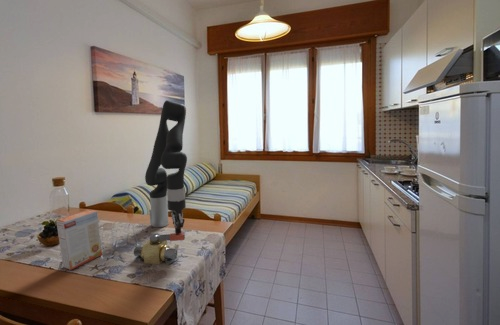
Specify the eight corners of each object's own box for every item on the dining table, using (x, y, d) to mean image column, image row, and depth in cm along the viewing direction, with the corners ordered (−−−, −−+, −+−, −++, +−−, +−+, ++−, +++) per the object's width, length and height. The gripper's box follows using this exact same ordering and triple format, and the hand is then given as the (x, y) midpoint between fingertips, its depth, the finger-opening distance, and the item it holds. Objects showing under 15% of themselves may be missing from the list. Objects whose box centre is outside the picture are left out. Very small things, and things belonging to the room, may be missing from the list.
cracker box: (94, 252, 122) (89, 209, 119) (102, 255, 119) (98, 210, 116) (61, 267, 109) (55, 219, 106) (70, 270, 107) (64, 221, 104)
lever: (148, 243, 111) (148, 237, 111) (151, 239, 115) (150, 234, 115) (183, 240, 113) (183, 235, 112) (185, 236, 117) (184, 231, 116)
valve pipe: (132, 262, 113) (130, 243, 112) (142, 254, 120) (140, 236, 118) (171, 265, 110) (170, 246, 108) (179, 256, 116) (178, 239, 115)
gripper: (163, 195, 118) (166, 231, 121) (171, 203, 107) (174, 243, 110) (180, 192, 122) (182, 228, 125) (189, 200, 111) (191, 239, 114)
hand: (178, 235), depth 117 cm, fingers closed
